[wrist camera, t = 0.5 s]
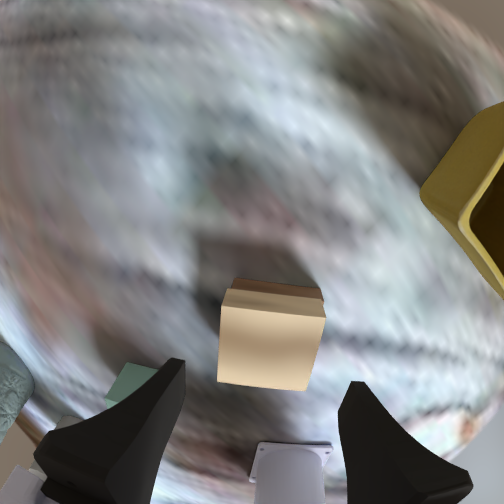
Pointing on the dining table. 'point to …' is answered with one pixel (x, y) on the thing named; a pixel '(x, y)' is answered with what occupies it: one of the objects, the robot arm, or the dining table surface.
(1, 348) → the grey-green embossed container
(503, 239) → the flower pot
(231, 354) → the oak slab
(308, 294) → the walnut slab
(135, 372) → the teal block
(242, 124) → the dining table surface
